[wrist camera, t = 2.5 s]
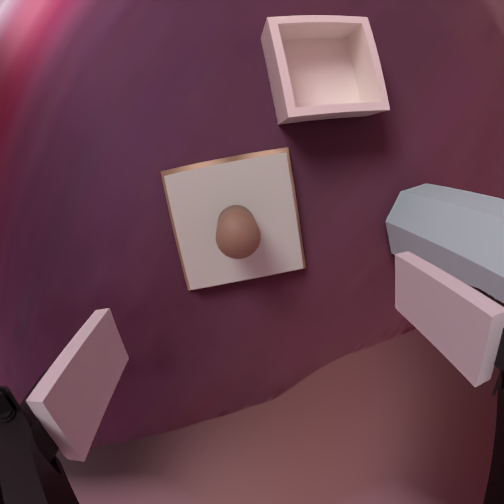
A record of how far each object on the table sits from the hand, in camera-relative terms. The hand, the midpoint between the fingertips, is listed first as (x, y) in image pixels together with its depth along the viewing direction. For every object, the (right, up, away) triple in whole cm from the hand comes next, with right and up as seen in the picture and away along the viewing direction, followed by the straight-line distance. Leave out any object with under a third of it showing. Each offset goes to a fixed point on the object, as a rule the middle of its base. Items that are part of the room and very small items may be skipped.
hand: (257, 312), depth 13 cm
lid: (-2, +6, +19) cm, 20 cm away
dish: (+6, +21, +16) cm, 27 cm away
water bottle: (+19, +6, +21) cm, 29 cm away
